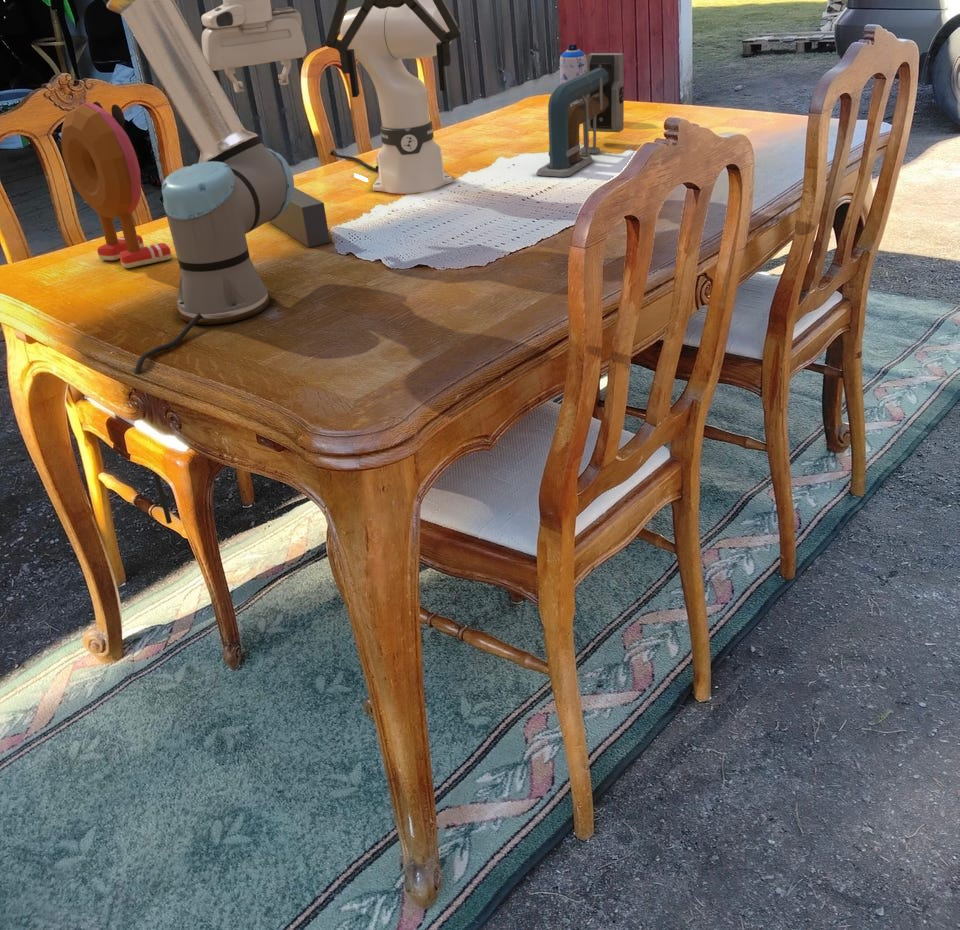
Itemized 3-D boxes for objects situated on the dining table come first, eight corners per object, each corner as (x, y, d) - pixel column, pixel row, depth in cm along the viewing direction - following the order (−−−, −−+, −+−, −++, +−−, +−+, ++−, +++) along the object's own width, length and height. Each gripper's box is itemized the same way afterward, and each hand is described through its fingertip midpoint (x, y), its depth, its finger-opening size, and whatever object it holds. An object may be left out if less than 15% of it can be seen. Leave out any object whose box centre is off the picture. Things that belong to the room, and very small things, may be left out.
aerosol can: (559, 122, 275) (557, 47, 265) (562, 117, 282) (559, 42, 272) (587, 121, 274) (585, 45, 263) (589, 115, 280) (587, 41, 270)
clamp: (567, 177, 223) (565, 79, 213) (533, 175, 227) (529, 78, 216) (623, 141, 249) (623, 53, 238) (592, 140, 253) (590, 53, 242)
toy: (184, 259, 191) (146, 100, 176) (138, 275, 185) (94, 111, 170) (129, 242, 204) (90, 93, 189) (85, 256, 198) (40, 102, 183)
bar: (330, 242, 194) (323, 202, 190) (308, 247, 192) (301, 207, 188) (289, 218, 212) (282, 181, 208) (269, 222, 210) (262, 185, 206)
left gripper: (469, -72, 141) (480, 82, 152) (301, -58, 143) (324, 93, 153) (467, -70, 135) (479, 90, 145) (291, -56, 136) (315, 102, 147)
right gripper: (293, 4, 193) (304, 78, 200) (192, 17, 184) (208, 94, 192) (304, 6, 188) (316, 81, 195) (202, 19, 180) (218, 97, 187)
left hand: (399, 92), depth 149 cm, fingers open, 13 cm apart
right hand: (262, 88), depth 193 cm, fingers open, 8 cm apart
